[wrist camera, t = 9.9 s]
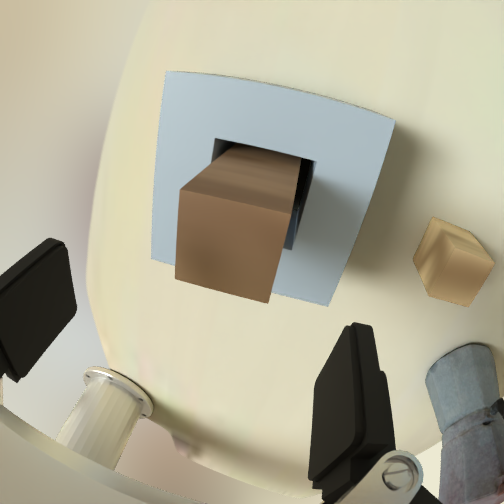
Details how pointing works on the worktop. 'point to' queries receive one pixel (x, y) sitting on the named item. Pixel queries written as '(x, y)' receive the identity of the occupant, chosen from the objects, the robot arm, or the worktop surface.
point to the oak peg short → (451, 263)
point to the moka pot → (469, 426)
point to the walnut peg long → (236, 221)
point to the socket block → (282, 140)
